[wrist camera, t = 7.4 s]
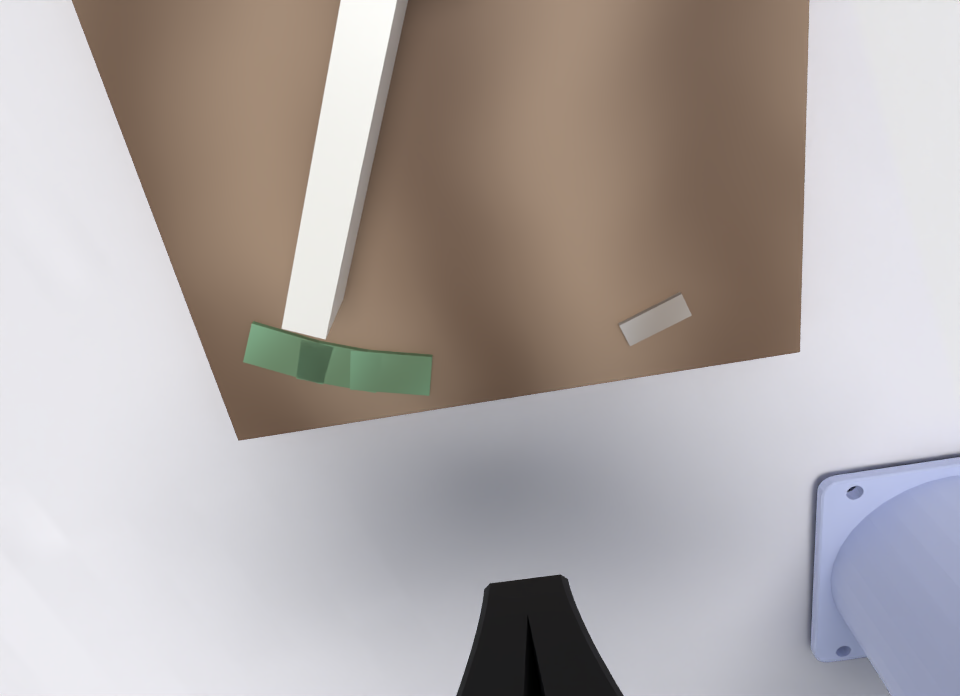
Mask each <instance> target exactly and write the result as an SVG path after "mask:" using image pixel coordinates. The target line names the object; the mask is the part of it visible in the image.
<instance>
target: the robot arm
mask: <svg viewBox="0 0 960 696" xmlns="http://www.w3.org/2000/svg"><path fill="white" fill-rule="evenodd" d="M853 486H856V488H855V489H853V490H852V491H849V492H847V491H848V490H849V489H850V488H851V487H853ZM811 651H812V652H813V654H814V656H815V658H816V659H817V660H819V661H822V662H833V661H841V660H849V659H856V658H864V657H868V659H869V661H870V662H871V664H872V665H873V667H874V669H875V670H876V672H877V673H878V675H879V677H880V678H881V680H882V681H883V683H884V685H885V686H886V688H887V689H888V691H889V693H890V694H891V696H960V457H957V458H950V459H943V460H936V461H929V462H923V463H916V464H909V465H902V466H895V467H889V468H882V469H875V470H868V471H861V472H855V473H848V474H841V475H834V476H831V477H828V478H826V479H825V480H823V481H822V482H821V483H820V485H819V487H818V490H817V511H816V534H815V557H814V581H813V604H812V627H811ZM457 696H623V694H622V692H621V691H620V689H619V687H618V686H617V684H616V682H615V681H614V679H613V677H612V675H611V674H610V672H609V670H608V668H607V667H606V665H605V663H604V661H603V660H602V658H601V656H600V654H599V652H598V651H597V649H596V647H595V645H594V643H593V641H592V639H591V637H590V635H589V633H588V631H587V629H586V627H585V624H584V622H583V620H582V618H581V616H580V613H579V611H578V609H577V606H576V604H575V601H574V598H573V595H572V593H571V590H570V586H569V582H568V579H567V578H565V577H564V576H562V575H554V576H546V577H538V578H530V579H522V580H514V581H506V582H498V583H491V584H489V585H488V586H487V587H486V588H485V589H484V596H483V603H482V609H481V614H480V618H479V623H478V627H477V631H476V635H475V638H474V642H473V646H472V649H471V653H470V656H469V659H468V662H467V665H466V668H465V672H464V675H463V678H462V681H461V684H460V687H459V690H458V693H457Z"/></svg>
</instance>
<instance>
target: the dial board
mask: <svg viewBox="0 0 960 696" xmlns="http://www.w3.org/2000/svg"><path fill="white" fill-rule="evenodd" d="M72 2H73V5H74V7H75V10H76V13H77V15H78V18H79V21H80V23H81V26H82V29H83V31H84V34H85V36H86V39H87V42H88V44H89V47H90V50H91V52H92V55H93V58H94V60H95V63H96V66H97V68H98V71H99V73H100V76H101V79H102V81H103V84H104V87H105V89H106V92H107V95H108V97H109V100H110V102H111V105H112V108H113V110H114V113H115V116H116V118H117V121H118V124H119V126H120V129H121V132H122V134H123V137H124V139H125V142H126V145H127V147H128V150H129V153H130V155H131V158H132V161H133V163H134V166H135V169H136V171H137V174H138V176H139V179H140V182H141V184H142V187H143V190H144V192H145V195H146V198H147V200H148V203H149V206H150V208H151V211H152V213H153V216H154V219H155V221H156V224H157V227H158V229H159V232H160V235H161V237H162V240H163V242H164V245H165V248H166V250H167V253H168V256H169V258H170V261H171V264H172V266H173V269H174V272H175V274H176V277H177V279H178V282H179V285H180V287H181V290H182V293H183V295H184V298H185V301H186V303H187V306H188V309H189V311H190V314H191V316H192V319H193V322H194V324H195V327H196V330H197V332H198V335H199V338H200V340H201V343H202V345H203V348H204V351H205V353H206V356H207V359H208V361H209V364H210V367H211V369H212V372H213V375H214V377H215V380H216V382H217V385H218V388H219V390H220V393H221V396H222V398H223V401H224V404H225V406H226V409H227V412H228V414H229V417H230V419H231V422H232V425H233V427H234V430H235V433H236V435H237V438H238V441H239V440H245V439H252V438H258V437H265V436H271V435H277V434H284V433H290V432H296V431H303V430H309V429H315V428H322V427H328V426H334V425H341V424H347V423H353V422H360V421H366V420H372V419H379V418H385V417H391V416H398V415H404V414H410V413H417V412H423V411H429V410H436V409H442V408H448V407H455V406H461V405H467V404H474V403H480V402H486V401H493V400H499V399H505V398H512V397H518V396H524V395H531V394H537V393H543V392H550V391H556V390H562V389H569V388H575V387H581V386H588V385H594V384H600V383H607V382H613V381H619V380H626V379H632V378H638V377H645V376H651V375H658V374H664V373H670V372H677V371H683V370H689V369H696V368H702V367H708V366H715V365H721V364H727V363H734V362H740V361H746V360H753V359H759V358H765V357H772V356H778V355H784V354H791V353H797V352H800V325H801V288H802V251H803V214H804V177H805V140H806V103H807V66H808V29H809V0H408V3H407V8H406V12H405V17H404V21H403V26H402V31H401V35H400V40H399V44H398V49H397V54H396V58H395V63H394V67H393V72H392V77H391V81H390V86H389V91H388V95H387V100H386V104H385V109H384V114H383V118H382V123H381V127H380V132H379V137H378V141H377V146H376V150H375V155H374V160H373V164H372V169H371V174H370V178H369V183H368V187H367V192H366V197H365V201H364V206H363V210H362V215H361V220H360V224H359V229H358V233H357V238H356V243H355V247H354V252H353V257H352V261H351V266H350V270H349V275H348V280H347V284H346V289H345V293H344V298H343V301H342V303H341V306H340V308H339V310H338V312H337V315H336V317H335V319H334V321H333V324H332V326H331V328H330V330H329V333H328V335H327V337H326V339H321V338H317V337H313V336H309V335H305V334H301V333H297V332H293V331H289V330H285V329H282V323H283V318H284V312H285V307H286V301H287V295H288V290H289V284H290V279H291V273H292V268H293V262H294V257H295V251H296V246H297V240H298V234H299V229H300V223H301V218H302V212H303V207H304V201H305V196H306V190H307V185H308V179H309V174H310V168H311V162H312V157H313V151H314V146H315V140H316V135H317V129H318V124H319V118H320V113H321V107H322V101H323V96H324V90H325V85H326V79H327V74H328V68H329V63H330V57H331V52H332V46H333V40H334V35H335V29H336V24H337V18H338V13H339V7H340V2H341V0H72Z"/></svg>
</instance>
